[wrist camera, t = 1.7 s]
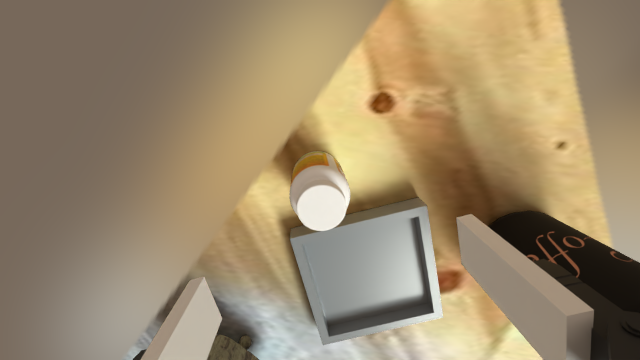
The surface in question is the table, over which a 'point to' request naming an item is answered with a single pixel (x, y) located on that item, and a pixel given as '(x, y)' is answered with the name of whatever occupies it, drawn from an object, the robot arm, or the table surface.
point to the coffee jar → (574, 255)
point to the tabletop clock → (231, 349)
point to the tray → (370, 271)
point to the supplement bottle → (319, 191)
